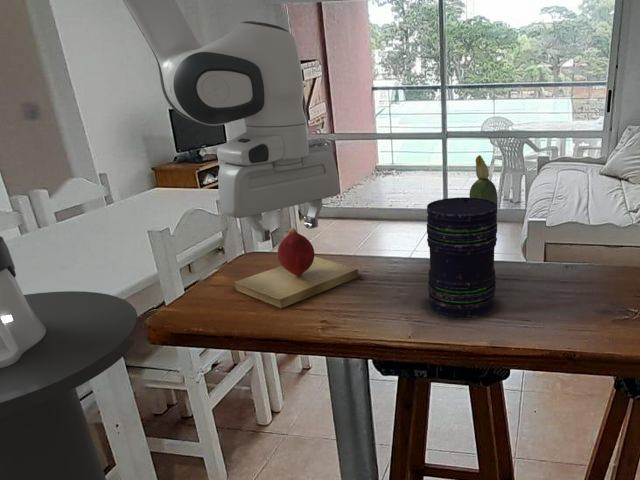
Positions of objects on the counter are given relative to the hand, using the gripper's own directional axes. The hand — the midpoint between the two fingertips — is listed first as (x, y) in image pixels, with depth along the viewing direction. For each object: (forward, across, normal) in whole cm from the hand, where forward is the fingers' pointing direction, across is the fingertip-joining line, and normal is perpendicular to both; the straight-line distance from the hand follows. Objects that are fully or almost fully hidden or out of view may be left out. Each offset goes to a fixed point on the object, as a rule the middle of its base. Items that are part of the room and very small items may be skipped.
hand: (288, 234), depth 91 cm
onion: (+7, -1, +1) cm, 7 cm away
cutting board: (+9, -1, 0) cm, 9 cm away
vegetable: (+8, -21, +24) cm, 32 cm away
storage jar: (+8, -10, +27) cm, 30 cm away
